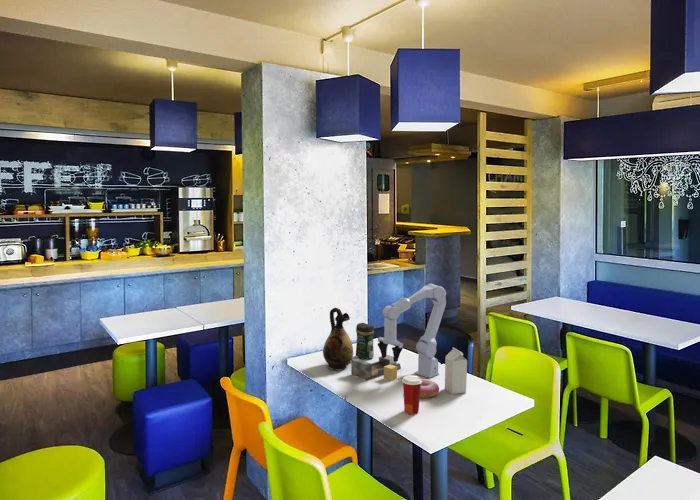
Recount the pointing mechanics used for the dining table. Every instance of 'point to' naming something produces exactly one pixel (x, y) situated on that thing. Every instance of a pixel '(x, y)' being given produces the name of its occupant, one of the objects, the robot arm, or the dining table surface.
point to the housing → (390, 372)
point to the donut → (428, 388)
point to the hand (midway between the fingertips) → (389, 359)
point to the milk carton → (455, 372)
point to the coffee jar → (364, 341)
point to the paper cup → (411, 394)
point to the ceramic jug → (338, 343)
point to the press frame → (368, 369)
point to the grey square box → (387, 360)
